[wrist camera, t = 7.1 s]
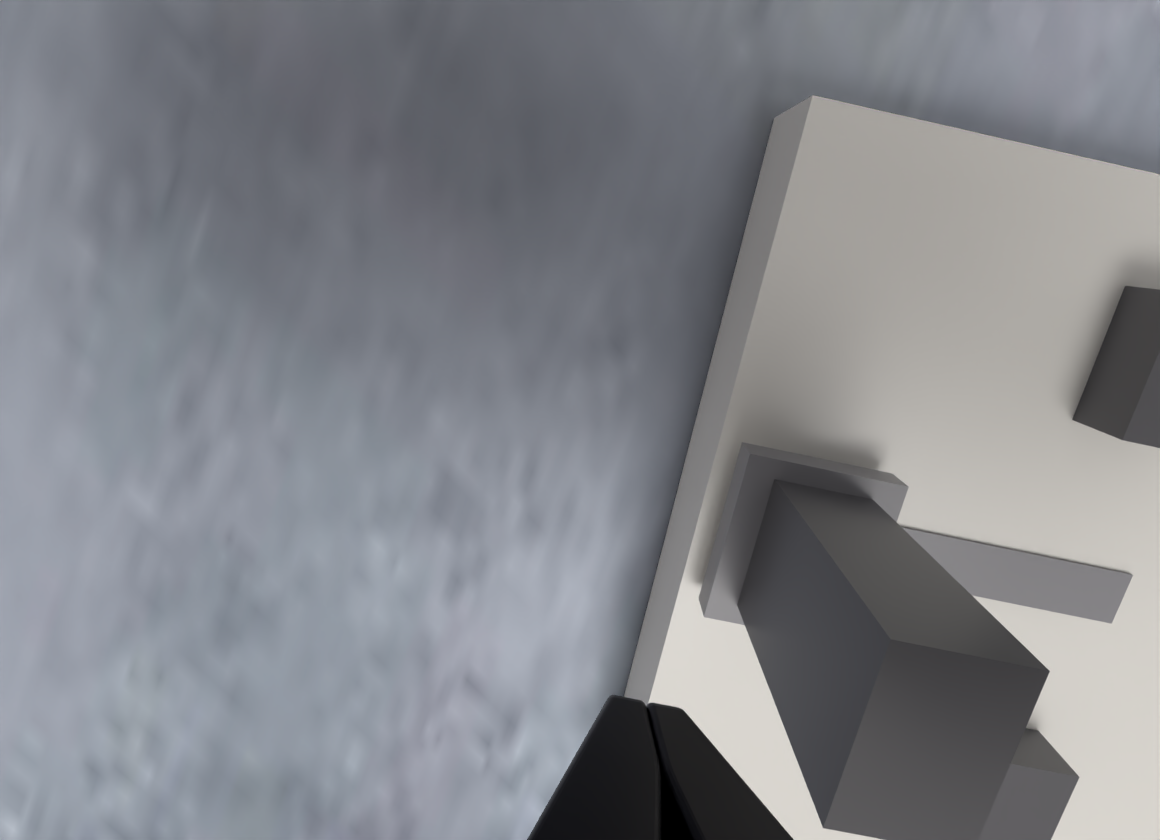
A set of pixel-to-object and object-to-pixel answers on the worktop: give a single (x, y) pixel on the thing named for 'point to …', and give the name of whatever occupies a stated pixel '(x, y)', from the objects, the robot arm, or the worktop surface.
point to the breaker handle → (868, 649)
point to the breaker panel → (947, 436)
